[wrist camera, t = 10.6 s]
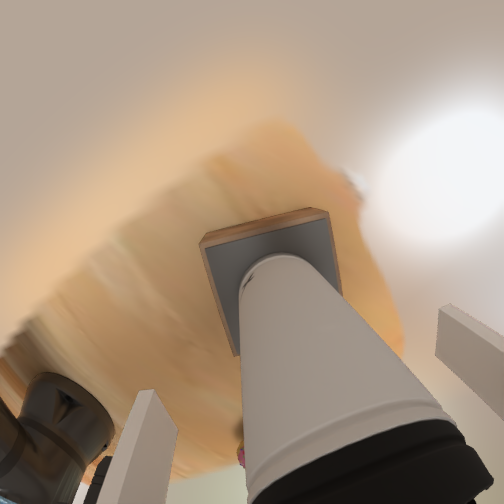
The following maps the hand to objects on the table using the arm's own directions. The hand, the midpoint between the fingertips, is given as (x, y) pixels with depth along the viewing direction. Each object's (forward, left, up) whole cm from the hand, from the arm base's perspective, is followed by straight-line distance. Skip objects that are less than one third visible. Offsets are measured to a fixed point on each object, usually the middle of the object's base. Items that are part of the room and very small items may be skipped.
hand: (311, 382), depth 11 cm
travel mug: (0, 0, -11) cm, 11 cm away
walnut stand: (0, 0, -17) cm, 17 cm away
